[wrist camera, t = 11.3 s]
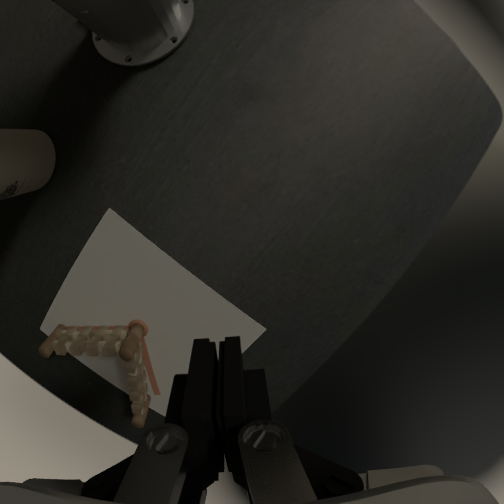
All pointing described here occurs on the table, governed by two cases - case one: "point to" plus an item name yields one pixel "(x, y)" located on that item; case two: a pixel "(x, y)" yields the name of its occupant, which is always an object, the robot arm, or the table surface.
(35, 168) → the travel mug
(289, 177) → the table surface
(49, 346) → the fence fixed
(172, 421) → the robot arm
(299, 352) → the table surface
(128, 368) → the fence gate
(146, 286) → the card
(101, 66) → the table surface
